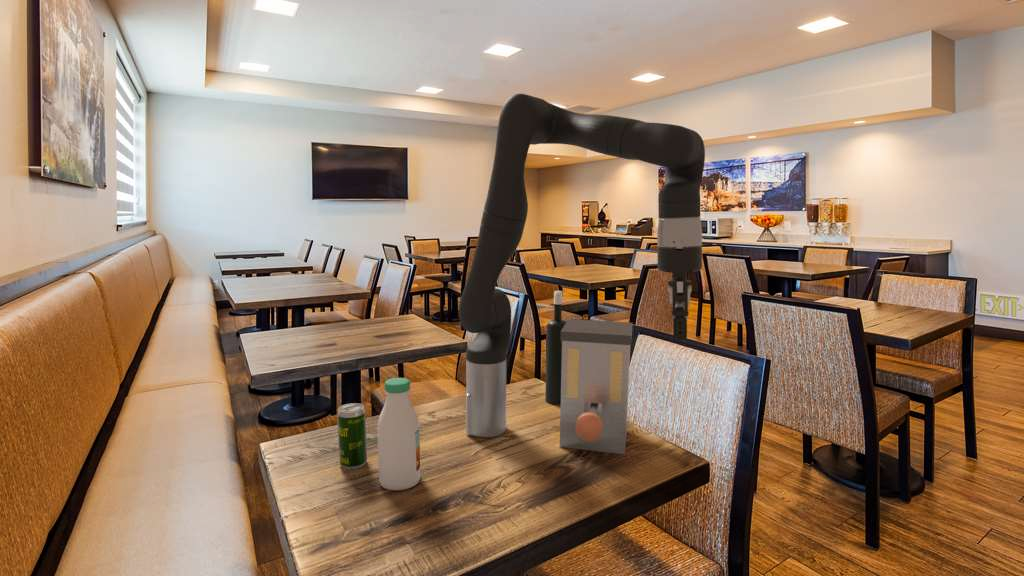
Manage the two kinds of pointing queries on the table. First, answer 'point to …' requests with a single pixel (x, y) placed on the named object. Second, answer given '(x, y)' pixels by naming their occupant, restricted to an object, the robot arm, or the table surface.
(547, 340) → the wine bottle
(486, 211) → the robot arm
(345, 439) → the beer can
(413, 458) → the milk bottle
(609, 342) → the dispenser
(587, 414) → the plunger
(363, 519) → the table surface
